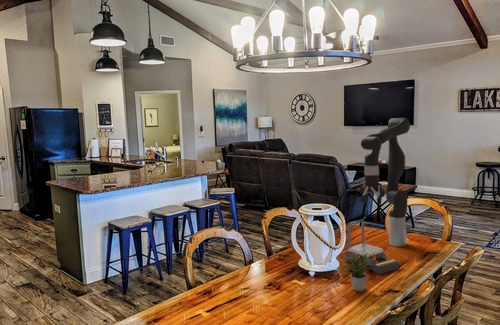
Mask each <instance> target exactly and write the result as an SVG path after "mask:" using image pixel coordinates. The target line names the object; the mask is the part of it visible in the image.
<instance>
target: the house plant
mask: <svg viewBox="0 0 500 325" xmlns="http://www.w3.org/2000/svg"><path fill="white" fill-rule="evenodd" d="M352 254H353V259H354V261H355V262H353V261H352V260H351V259H350V258H348V257H346V258H348V259H350V260H351V261H352V262H351V263H350V264H347V263H340V264H341V265H343V266H344V267H345V268H344V271H343V272H345V271H348V270H350V271H351V272H352V273H350V279H351V285H352V289H353V290H354V291H357V292H362V291H365V290H366V283H367V274H366V273H364V272H366V271H367V270H368V269H367V267H365V266H366V264H367V263H368V262H366V263H365V261H366V260H367V258H366V259H365V257H366V256H367V254H368V253H366V254H365V255H363V256H362V258H360V255H356V257H355V255H354V254H355V253H353V252H352ZM342 257H343V258H344V257H345V255H342ZM367 257H368V256H367ZM346 258H345V259H346ZM364 259H365V261H364ZM368 260H369V259H368ZM368 260H367V261H368ZM363 262H364V263H365V265H364V263H363Z"/></svg>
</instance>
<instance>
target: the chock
mask: <svg viewBox="0 0 500 325" xmlns="http://www.w3.org/2000/svg"><path fill="white" fill-rule="evenodd" d="M399 265H400V263H399V260H396V259H393V258H390V259H387V260H386V261H382V262H379V263H378V262H376V263H375V264H373V268H372V272H374V273H376V274H378V275H382V274H384V273H389V272H392V271H395V270H398V269H399V267H400V266H399Z"/></svg>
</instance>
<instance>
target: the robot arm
mask: <svg viewBox="0 0 500 325" xmlns="http://www.w3.org/2000/svg"><path fill="white" fill-rule="evenodd" d="M410 128H411V123H410V121H409V119H408V118H406V117H397V118H396V117H392V118H390V119H389V120H388V125H387V127H386V128H383V129H380V130H378V131H377V132H375V133H372V134H369V135H365V136H364V137H363V138H361V141H360V147H361V148H362V149H364V150H366V151H367V150H369V151H371V153H368V154H365V156H364V182H362V183H360V186H359V187H360V188H359V193H360V195H362V197H363V202H364V203H368V197H369V196H368V195H369V193H372V194H374V195H375V196H376V205H378V206H379V205H381V204H382V198H384V197H385V199H386V201H387V203H389V204H392V205H393V206H392V209H391V210H389V212H388V236H389V238H388V239H389V240H388V242H389V245H390V246H392V247H405V246H406V245H407V227H406V219H407V218H406V216H407V215H406V214H407V211H408V195H407V192H406V191H405V190H402V189H399V183H400V179H401V176H402V175H403V173H404V170H405V167H406V154H405V153H404V151H403V149H402V148H401V146H400V144H399V142H398V136H401V135H404V134H407V133H408V132H409V131H410ZM386 142H388V160H387V161H388V162H387V163H388V171H387V184H386V192H385V185H380V184H379V183H380V168H379V166H380V165H379V156H380V154H381V149H382V144H384V143H386Z"/></svg>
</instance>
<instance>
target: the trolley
mask: <svg viewBox="0 0 500 325" xmlns="http://www.w3.org/2000/svg"><path fill="white" fill-rule="evenodd" d="M358 223H360V224H361V243H359V244H356V245H353V246H352V241H351V239H352V237H351V236H352V233H351V232H352V231H351V225H355V224H358ZM347 248H348V250H347V251H346V252H345V254H344V256H345V258H344V259H345V261H347V262H348V263H349V264H352V263H351V262H352V261H353V262H354V263H355V261H354V259H353V254H352V252H353V253H354V255H355V257H356V255H357V256H359V255H360V259H361V258H362V256H363V255H365V254H366V253H368V254H367V256H368V257H367V256H366V257H365V259H366V258H367V260H368V259H369V260H368V261H367V260H366V261H365V259H364V261H365V263H366V262H368V263H367V264H366V266H365V267H367V268H366V269H367V270H373V264H375V262H376V263H379V262H382V261H386V260H388V256H387V255H386V253H384V248H381V247H379V246H374V245H370V244H367V243H365V219H364V218H361V219H358V220H354V221H351V222H348V223H347ZM373 256H375V259H374V258H373ZM346 257H348V258H350V259H351V260H352V261H351V260H350V259H348V258H346ZM356 258H357V257H356ZM363 263H364V262H363ZM365 263H364V265H365Z"/></svg>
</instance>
